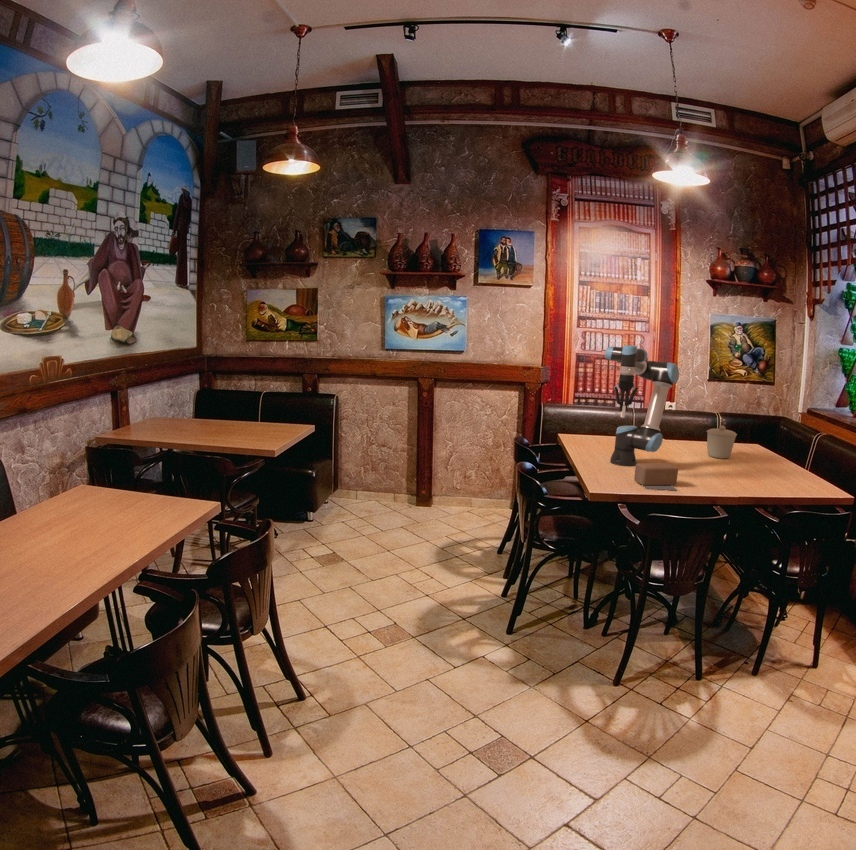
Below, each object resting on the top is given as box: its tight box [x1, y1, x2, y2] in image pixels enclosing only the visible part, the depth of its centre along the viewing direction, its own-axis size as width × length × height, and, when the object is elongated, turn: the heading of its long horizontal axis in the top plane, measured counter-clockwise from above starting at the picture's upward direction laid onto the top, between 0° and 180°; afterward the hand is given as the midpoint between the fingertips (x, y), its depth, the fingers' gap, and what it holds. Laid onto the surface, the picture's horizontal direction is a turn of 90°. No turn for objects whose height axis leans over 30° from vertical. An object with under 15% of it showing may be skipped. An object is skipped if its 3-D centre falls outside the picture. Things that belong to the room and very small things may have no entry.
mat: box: [642, 485, 678, 492], centre depth 326 cm, size 16×16×1 cm
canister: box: [706, 425, 738, 460], centre depth 397 cm, size 18×18×21 cm
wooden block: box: [633, 462, 679, 486], centre depth 328 cm, size 10×10×20 cm
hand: (622, 417), depth 332 cm, fingers closed
